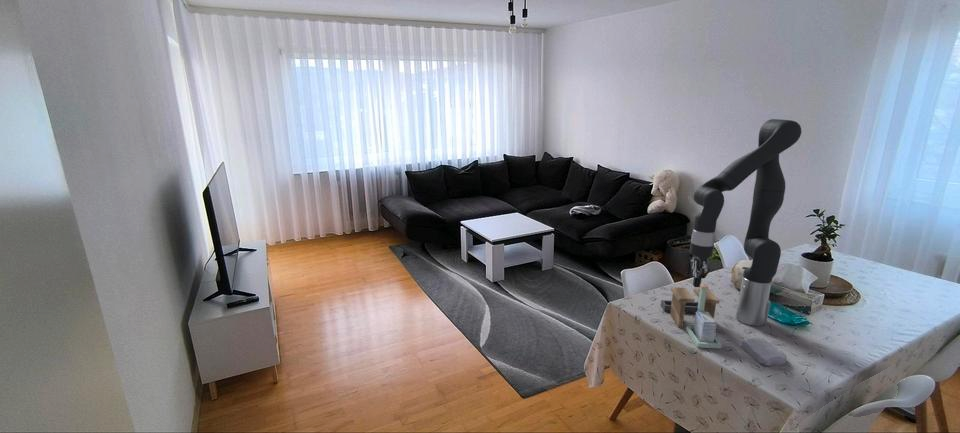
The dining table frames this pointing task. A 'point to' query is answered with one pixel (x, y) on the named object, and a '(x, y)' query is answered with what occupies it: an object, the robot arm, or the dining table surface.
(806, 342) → the dining table surface
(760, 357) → the stone block
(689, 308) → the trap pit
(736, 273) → the coin bank
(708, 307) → the tunnel
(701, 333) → the medicine box
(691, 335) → the slider
